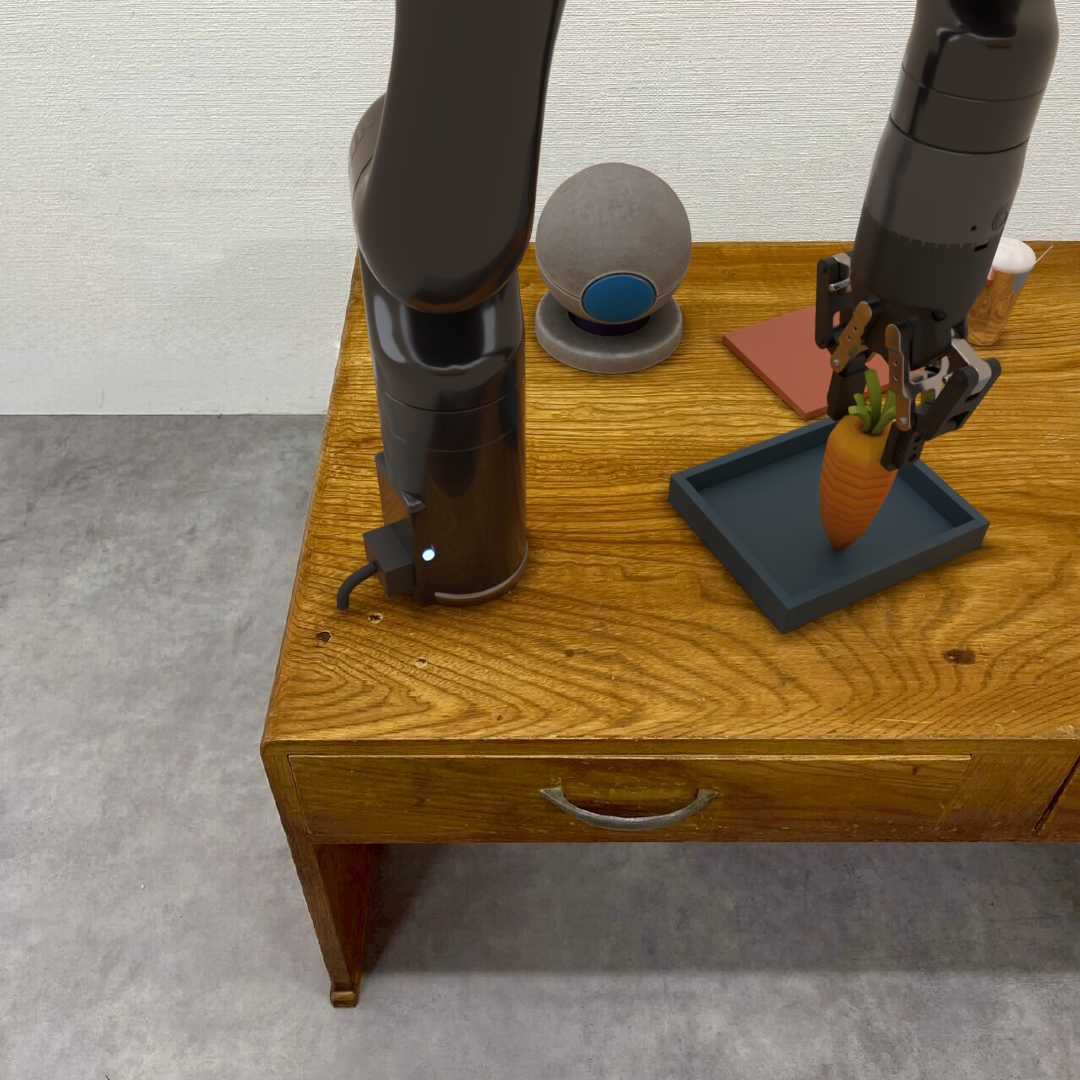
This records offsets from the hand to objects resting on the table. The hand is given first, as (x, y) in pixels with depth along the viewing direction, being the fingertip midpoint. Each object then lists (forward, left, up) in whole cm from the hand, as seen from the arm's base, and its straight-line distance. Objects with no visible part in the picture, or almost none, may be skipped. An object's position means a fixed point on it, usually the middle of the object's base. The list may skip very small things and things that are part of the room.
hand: (868, 438), depth 73 cm
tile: (+13, +19, -11) cm, 26 cm away
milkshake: (+28, +15, -11) cm, 34 cm away
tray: (+1, +3, -11) cm, 11 cm away
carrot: (0, 0, -11) cm, 11 cm away
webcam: (-1, +31, -11) cm, 33 cm away
